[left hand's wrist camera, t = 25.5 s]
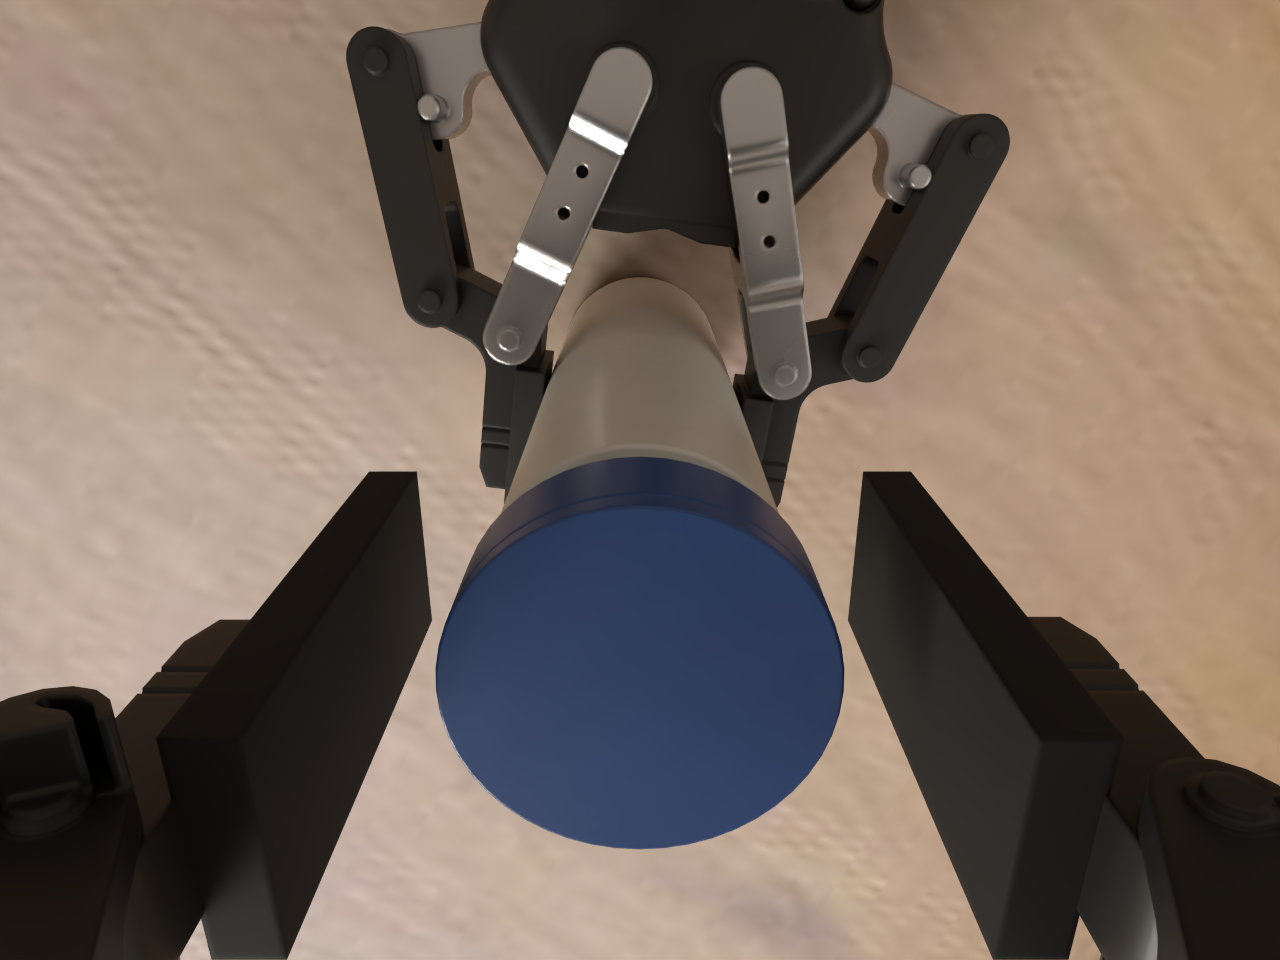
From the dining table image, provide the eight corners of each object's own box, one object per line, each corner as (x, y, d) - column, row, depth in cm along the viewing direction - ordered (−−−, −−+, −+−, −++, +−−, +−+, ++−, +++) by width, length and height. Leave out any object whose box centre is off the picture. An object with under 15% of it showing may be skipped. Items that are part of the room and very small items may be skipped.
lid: (386, 622, 12) (350, 692, 10) (640, 376, 11) (640, 417, 9) (639, 821, 13) (639, 908, 12) (892, 623, 12) (928, 693, 10)
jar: (636, 244, 26) (631, 406, 10) (745, 349, 27) (885, 635, 12) (534, 355, 27) (396, 647, 12) (642, 451, 28) (646, 832, 13)
